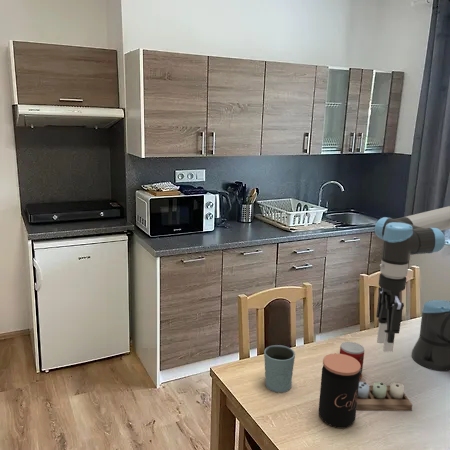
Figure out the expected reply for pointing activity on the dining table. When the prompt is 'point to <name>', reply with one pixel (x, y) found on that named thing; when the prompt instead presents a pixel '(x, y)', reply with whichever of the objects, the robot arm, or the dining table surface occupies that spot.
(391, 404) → the button board
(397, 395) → the one-pip button
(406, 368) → the dining table surface
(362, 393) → the three-pip button
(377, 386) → the two-pip button
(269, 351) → the teal cup
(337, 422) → the coffee jar
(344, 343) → the canned food
